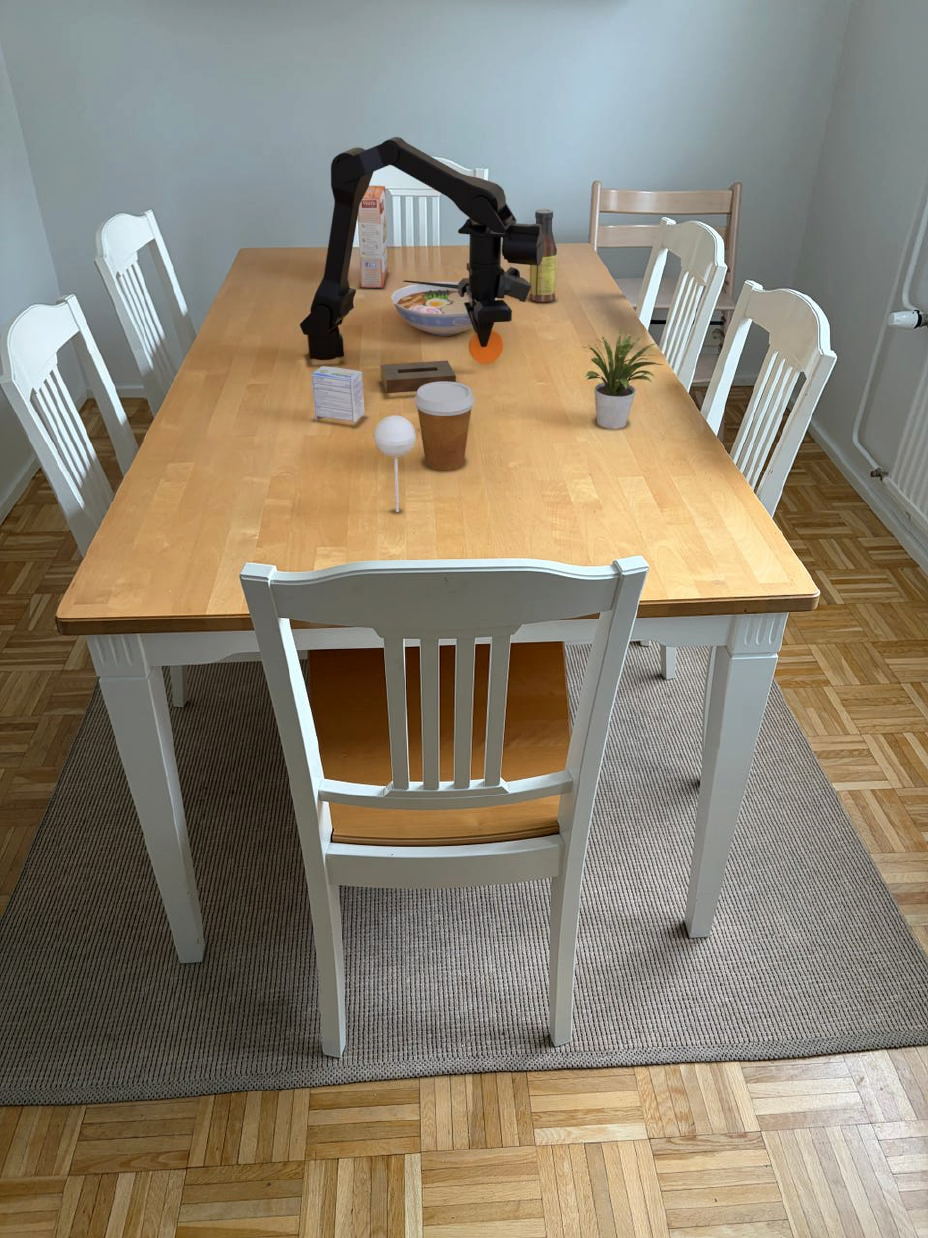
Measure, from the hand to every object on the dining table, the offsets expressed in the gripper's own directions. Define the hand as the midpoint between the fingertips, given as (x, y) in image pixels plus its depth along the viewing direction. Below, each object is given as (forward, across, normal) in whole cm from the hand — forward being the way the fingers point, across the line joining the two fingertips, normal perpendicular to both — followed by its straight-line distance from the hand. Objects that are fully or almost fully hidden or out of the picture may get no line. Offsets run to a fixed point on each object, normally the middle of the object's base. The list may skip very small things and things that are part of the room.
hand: (482, 345), depth 181 cm
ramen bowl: (+7, +29, +2) cm, 30 cm away
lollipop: (+7, -49, +24) cm, 55 cm away
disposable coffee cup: (+7, -34, +14) cm, 37 cm away
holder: (+7, -2, +13) cm, 15 cm away
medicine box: (+7, -14, +29) cm, 33 cm away
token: (+4, 0, 0) cm, 4 cm away
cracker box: (+7, +69, +12) cm, 70 cm away
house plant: (+7, -25, -17) cm, 31 cm away
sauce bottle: (+7, +47, -25) cm, 54 cm away
